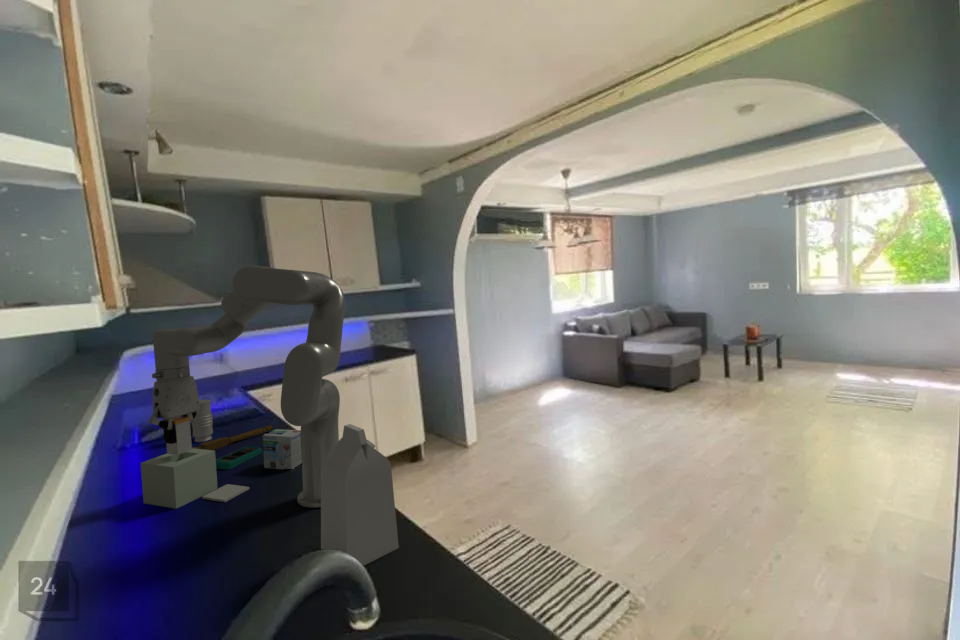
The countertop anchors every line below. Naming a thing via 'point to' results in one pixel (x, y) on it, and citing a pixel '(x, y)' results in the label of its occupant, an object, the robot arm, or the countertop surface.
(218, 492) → the mat
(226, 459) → the digital multimeter
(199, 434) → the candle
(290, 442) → the light bulb box
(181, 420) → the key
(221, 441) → the tap handle
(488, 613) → the countertop surface
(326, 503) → the milk
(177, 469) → the grey hollow block
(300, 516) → the countertop surface
